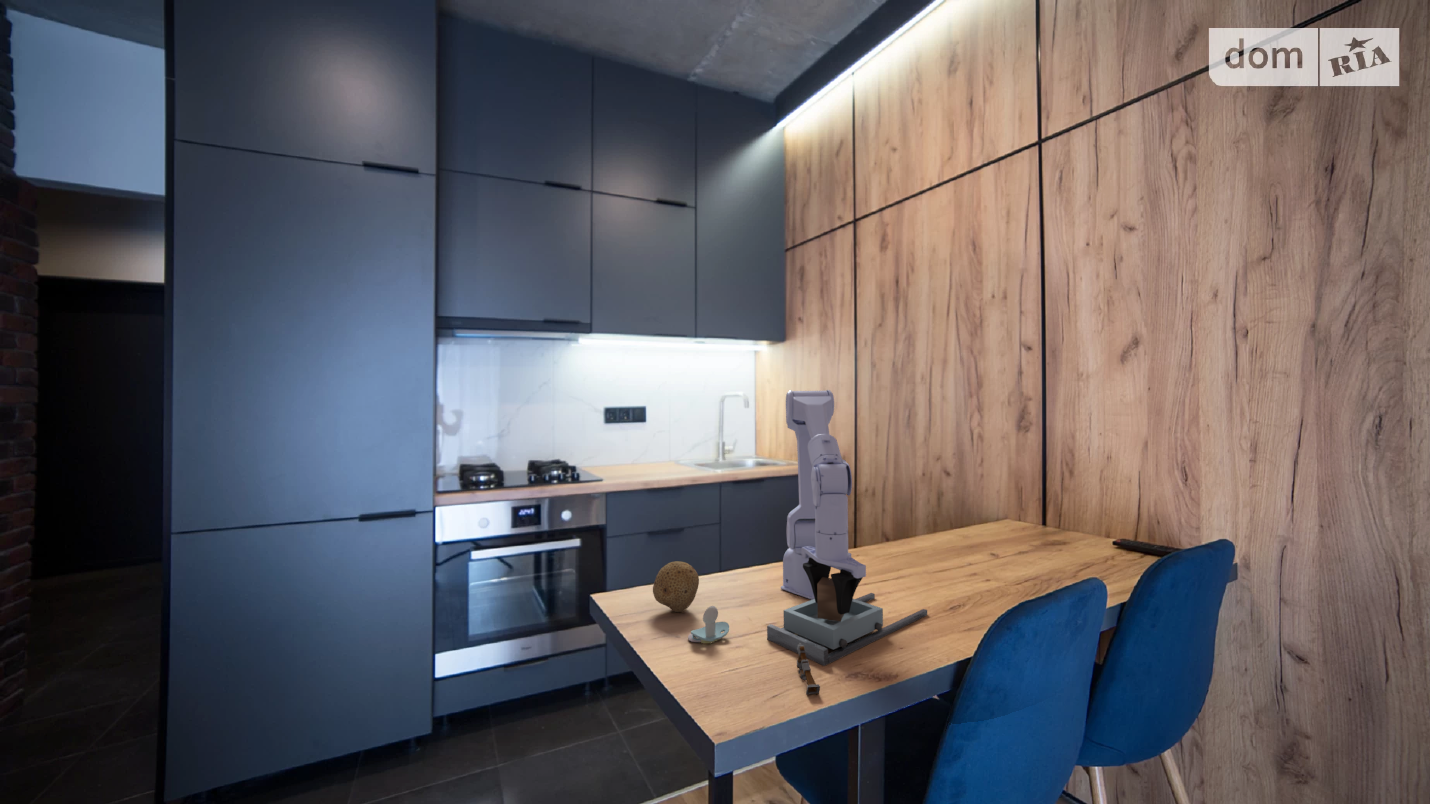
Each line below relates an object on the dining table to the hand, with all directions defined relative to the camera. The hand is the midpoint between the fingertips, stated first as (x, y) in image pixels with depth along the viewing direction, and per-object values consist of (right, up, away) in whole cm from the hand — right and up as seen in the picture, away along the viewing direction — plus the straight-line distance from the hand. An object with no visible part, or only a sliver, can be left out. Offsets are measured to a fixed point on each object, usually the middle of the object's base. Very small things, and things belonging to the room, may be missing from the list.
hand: (832, 607), depth 96 cm
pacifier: (-22, -6, -1) cm, 23 cm away
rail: (+5, -5, +4) cm, 8 cm away
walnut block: (0, -1, 0) cm, 1 cm away
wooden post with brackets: (-8, -5, -16) cm, 19 cm away
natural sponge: (-29, -5, +11) cm, 31 cm away
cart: (0, -4, 0) cm, 4 cm away
